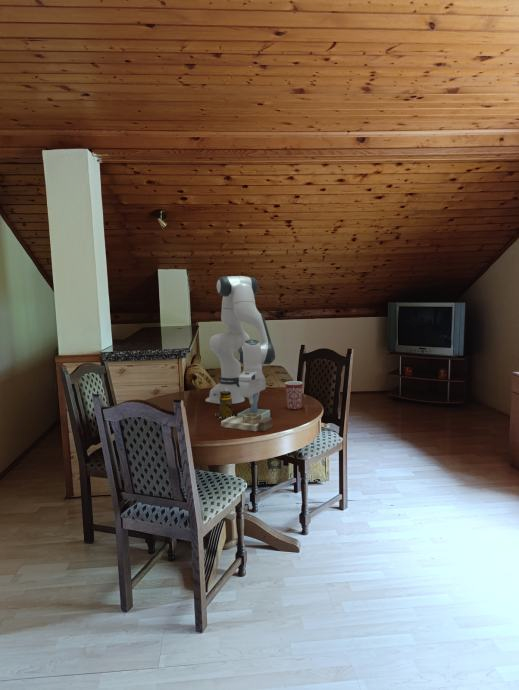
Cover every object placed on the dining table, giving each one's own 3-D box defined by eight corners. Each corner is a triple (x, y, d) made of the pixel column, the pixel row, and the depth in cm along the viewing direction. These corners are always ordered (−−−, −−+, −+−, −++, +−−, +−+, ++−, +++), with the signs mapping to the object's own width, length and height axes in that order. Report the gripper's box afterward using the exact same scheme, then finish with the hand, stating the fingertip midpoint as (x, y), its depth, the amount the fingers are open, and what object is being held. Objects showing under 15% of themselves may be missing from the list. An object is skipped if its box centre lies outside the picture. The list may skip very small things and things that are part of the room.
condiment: (234, 416, 226) (233, 393, 225) (217, 418, 224) (216, 394, 223) (231, 413, 233) (230, 390, 232) (215, 414, 231) (214, 391, 230)
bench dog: (258, 430, 202) (258, 422, 202) (266, 425, 209) (266, 417, 209) (264, 431, 201) (264, 422, 200) (272, 426, 208) (272, 418, 207)
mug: (303, 410, 235) (303, 384, 233) (285, 410, 236) (285, 384, 234) (302, 404, 248) (302, 379, 246) (285, 404, 248) (285, 379, 246)
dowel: (250, 412, 219) (249, 393, 218) (253, 410, 222) (252, 392, 221) (255, 412, 218) (255, 394, 217) (258, 411, 221) (257, 393, 220)
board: (221, 426, 210) (220, 415, 209) (232, 421, 219) (231, 409, 218) (256, 431, 201) (255, 419, 201) (266, 425, 210) (265, 413, 210)
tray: (237, 421, 218) (237, 413, 218) (249, 415, 228) (249, 408, 228) (259, 423, 213) (259, 416, 212) (270, 417, 223) (270, 410, 223)
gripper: (257, 370, 228) (258, 397, 230) (236, 377, 210) (237, 406, 212) (268, 370, 226) (269, 398, 227) (248, 378, 208) (249, 408, 209)
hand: (253, 402), depth 219 cm, fingers closed on dowel, 3 cm apart
